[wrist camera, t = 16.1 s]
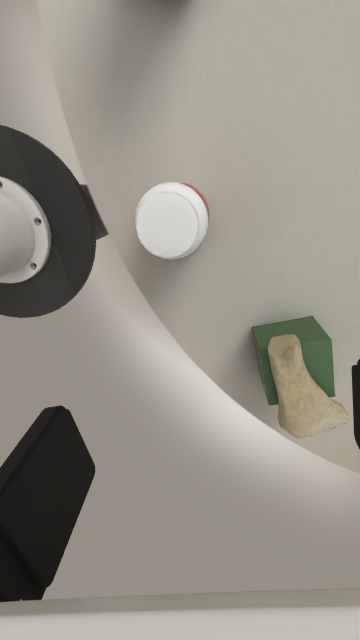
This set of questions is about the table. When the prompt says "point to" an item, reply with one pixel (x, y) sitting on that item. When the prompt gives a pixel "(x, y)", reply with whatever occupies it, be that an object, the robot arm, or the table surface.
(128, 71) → the table surface
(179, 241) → the pill bottle
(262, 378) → the green block
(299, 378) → the bone
